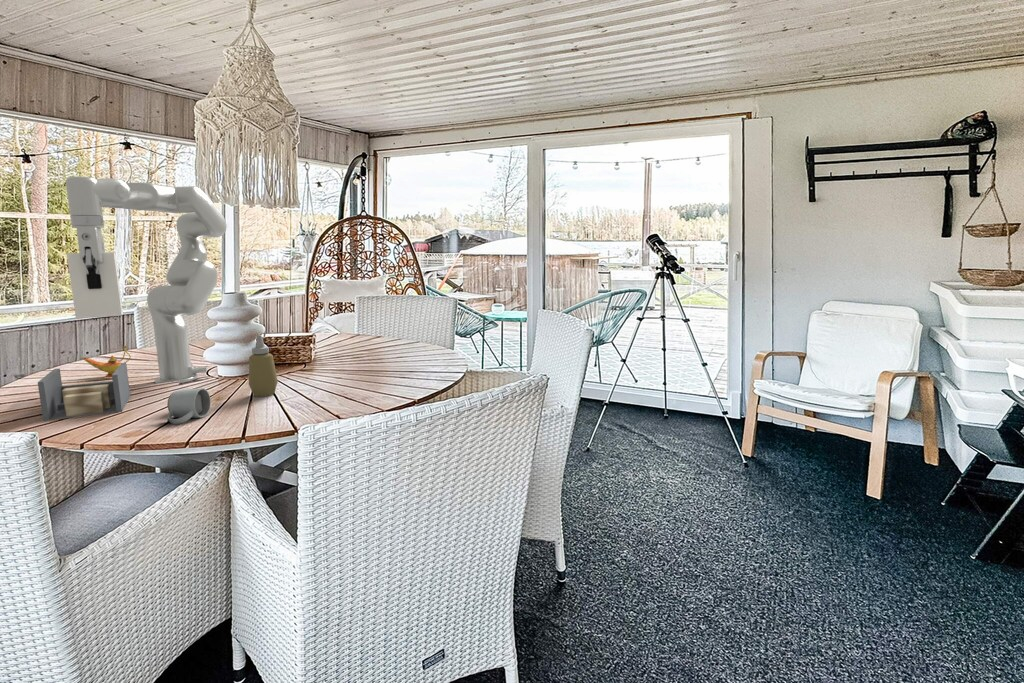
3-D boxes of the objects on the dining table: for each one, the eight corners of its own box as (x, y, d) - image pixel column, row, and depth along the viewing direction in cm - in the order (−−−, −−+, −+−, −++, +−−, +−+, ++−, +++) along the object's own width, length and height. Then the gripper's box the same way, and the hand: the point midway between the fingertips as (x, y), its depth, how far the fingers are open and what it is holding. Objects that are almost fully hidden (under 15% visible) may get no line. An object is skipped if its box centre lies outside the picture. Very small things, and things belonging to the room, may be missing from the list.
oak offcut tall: (111, 405, 169) (108, 384, 168) (109, 407, 166) (107, 386, 165) (67, 410, 164) (64, 388, 163) (65, 412, 162) (62, 390, 161)
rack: (131, 401, 178) (126, 362, 176) (122, 417, 162) (117, 374, 160) (60, 409, 171) (54, 368, 169) (44, 426, 155) (37, 382, 153)
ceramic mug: (183, 412, 166) (179, 385, 164) (212, 412, 165) (209, 385, 164) (159, 425, 155) (155, 396, 154) (190, 425, 155) (187, 395, 153)
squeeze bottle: (284, 392, 186) (279, 333, 183) (265, 398, 178) (260, 338, 175) (262, 390, 189) (257, 332, 186) (243, 397, 181) (238, 337, 178)
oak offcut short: (104, 409, 165) (102, 391, 164) (103, 412, 162) (100, 393, 161) (69, 413, 161) (66, 394, 160) (66, 416, 158) (63, 397, 158)
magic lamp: (89, 374, 215) (85, 343, 214) (139, 374, 215) (135, 343, 213) (75, 379, 209) (70, 347, 207) (126, 378, 208) (122, 346, 206)
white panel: (123, 314, 179) (115, 252, 176) (121, 315, 176) (113, 252, 173) (77, 317, 174) (69, 253, 171) (75, 318, 172) (66, 253, 169)
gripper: (98, 221, 165) (107, 289, 168) (108, 223, 180) (116, 285, 183) (64, 221, 162) (74, 291, 165) (77, 223, 176) (85, 287, 180)
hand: (96, 287), depth 174 cm, fingers closed on white panel, 3 cm apart
